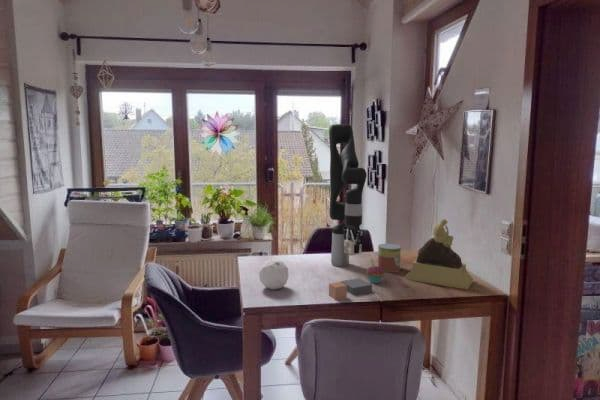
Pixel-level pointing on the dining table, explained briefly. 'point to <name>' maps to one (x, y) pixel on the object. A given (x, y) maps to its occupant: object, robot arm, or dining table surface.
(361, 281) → the plinth
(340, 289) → the terracotta cube
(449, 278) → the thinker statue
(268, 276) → the geodesic sphere
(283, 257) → the dining table surface
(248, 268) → the dining table surface
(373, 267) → the cupcake
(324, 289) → the dining table surface
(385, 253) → the canned food
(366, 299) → the dining table surface
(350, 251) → the cream cube
